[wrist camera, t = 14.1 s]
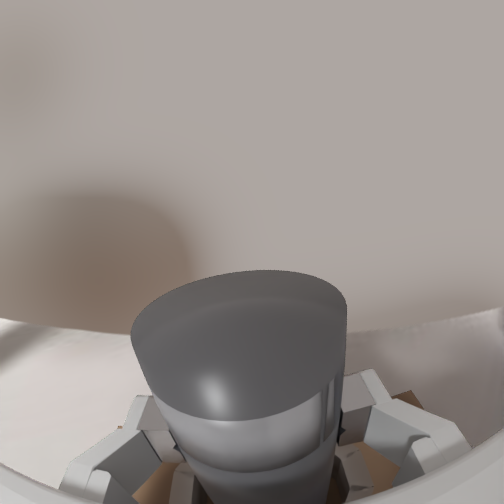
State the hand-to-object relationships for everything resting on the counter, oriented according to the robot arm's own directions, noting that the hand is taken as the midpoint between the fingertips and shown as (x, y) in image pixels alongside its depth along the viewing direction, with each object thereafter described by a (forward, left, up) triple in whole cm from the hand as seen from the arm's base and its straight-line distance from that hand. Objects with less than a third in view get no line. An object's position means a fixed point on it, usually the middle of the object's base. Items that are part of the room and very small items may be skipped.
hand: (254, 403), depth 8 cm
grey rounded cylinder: (0, -1, -6) cm, 6 cm away
